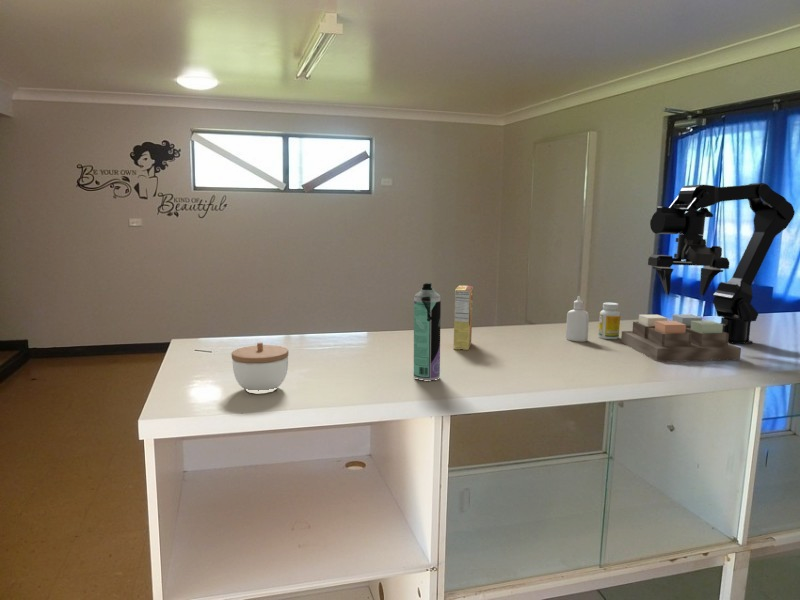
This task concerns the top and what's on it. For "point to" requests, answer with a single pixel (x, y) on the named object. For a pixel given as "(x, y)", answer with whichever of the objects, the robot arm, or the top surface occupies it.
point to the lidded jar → (260, 366)
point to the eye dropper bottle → (577, 323)
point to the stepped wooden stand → (680, 344)
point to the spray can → (427, 333)
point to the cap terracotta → (670, 327)
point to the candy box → (463, 317)
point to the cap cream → (650, 319)
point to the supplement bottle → (609, 321)
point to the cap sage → (706, 326)
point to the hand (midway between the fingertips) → (684, 295)
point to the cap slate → (686, 318)
